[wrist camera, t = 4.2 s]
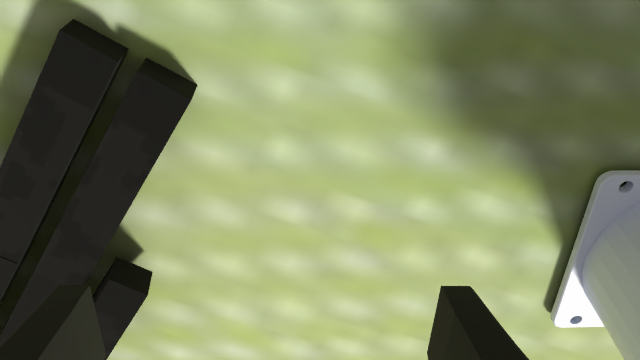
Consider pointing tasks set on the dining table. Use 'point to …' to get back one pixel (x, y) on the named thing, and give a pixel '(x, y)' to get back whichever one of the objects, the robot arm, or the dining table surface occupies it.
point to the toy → (98, 181)
